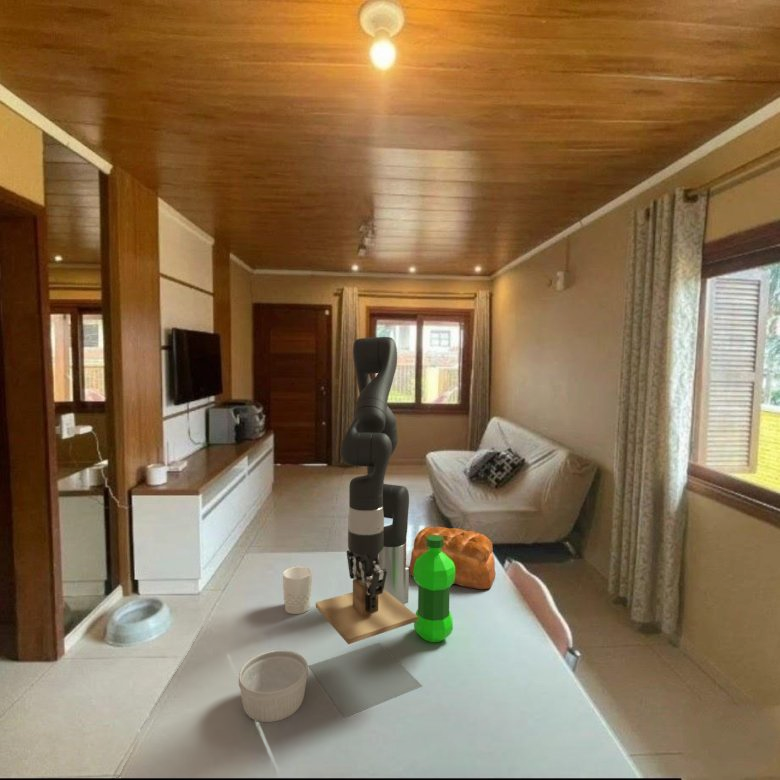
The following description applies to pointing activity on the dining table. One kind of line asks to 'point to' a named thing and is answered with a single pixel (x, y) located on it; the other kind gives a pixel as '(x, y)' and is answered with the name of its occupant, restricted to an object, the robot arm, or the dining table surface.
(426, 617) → the plastic bottle
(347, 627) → the oak lid
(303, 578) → the white cup
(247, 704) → the ramekin
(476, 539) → the bread
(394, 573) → the robot arm
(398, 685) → the grey mat
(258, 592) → the dining table surface
